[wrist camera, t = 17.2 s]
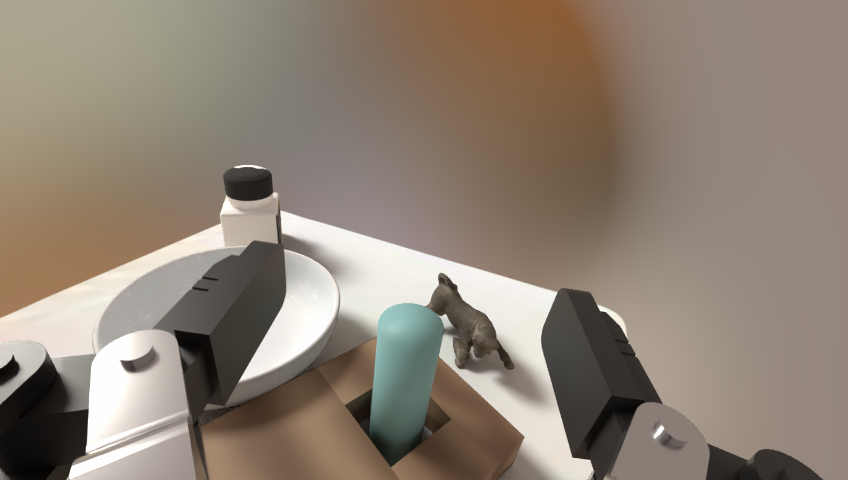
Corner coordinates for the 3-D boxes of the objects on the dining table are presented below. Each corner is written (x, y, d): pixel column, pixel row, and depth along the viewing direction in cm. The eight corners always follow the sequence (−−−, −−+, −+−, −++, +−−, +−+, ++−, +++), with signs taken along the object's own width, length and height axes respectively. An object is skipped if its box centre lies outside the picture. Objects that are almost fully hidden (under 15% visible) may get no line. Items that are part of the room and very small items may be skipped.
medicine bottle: (280, 256, 55) (274, 180, 49) (226, 259, 53) (213, 179, 47) (281, 232, 61) (276, 161, 55) (233, 233, 59) (222, 160, 53)
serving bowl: (377, 357, 41) (382, 309, 38) (159, 503, 27) (134, 449, 24) (280, 269, 53) (276, 226, 49) (90, 340, 39) (66, 287, 35)
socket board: (258, 731, 19) (250, 714, 17) (177, 474, 29) (165, 444, 27) (512, 463, 33) (524, 436, 31) (399, 349, 43) (403, 323, 41)
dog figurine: (412, 323, 47) (419, 275, 43) (449, 310, 50) (458, 263, 46) (474, 396, 38) (489, 344, 35) (513, 375, 41) (531, 325, 38)
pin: (389, 479, 31) (406, 361, 23) (358, 436, 33) (365, 318, 26) (430, 445, 33) (457, 331, 26) (398, 408, 36) (415, 295, 29)
